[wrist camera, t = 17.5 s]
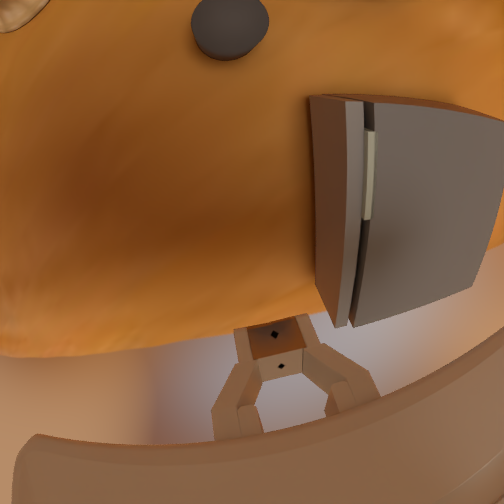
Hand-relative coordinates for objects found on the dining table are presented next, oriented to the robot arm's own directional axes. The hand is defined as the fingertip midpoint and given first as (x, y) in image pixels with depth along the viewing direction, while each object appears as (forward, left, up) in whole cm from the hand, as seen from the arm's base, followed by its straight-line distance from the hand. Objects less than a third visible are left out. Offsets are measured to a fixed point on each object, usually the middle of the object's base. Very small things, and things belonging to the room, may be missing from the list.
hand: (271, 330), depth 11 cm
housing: (+14, 0, -12) cm, 18 cm away
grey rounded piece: (+1, +13, -12) cm, 18 cm away
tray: (+12, 0, -11) cm, 16 cm away
